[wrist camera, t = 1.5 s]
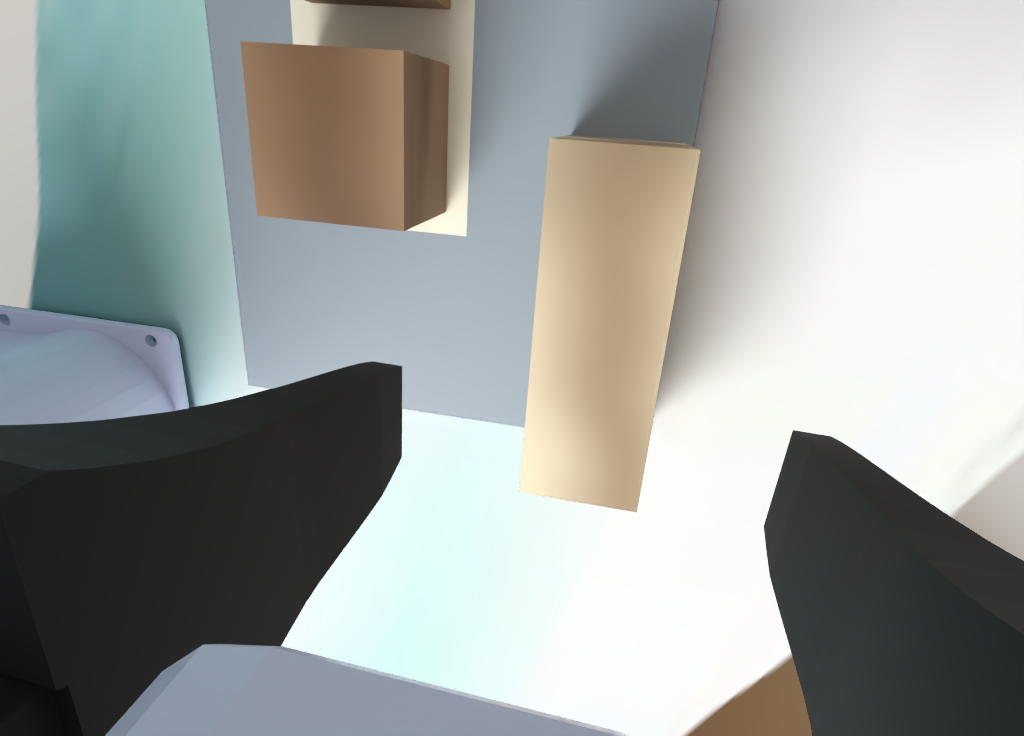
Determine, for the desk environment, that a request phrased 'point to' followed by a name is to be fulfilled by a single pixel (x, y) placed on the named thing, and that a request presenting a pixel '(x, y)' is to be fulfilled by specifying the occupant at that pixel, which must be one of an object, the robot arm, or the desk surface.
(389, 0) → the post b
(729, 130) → the desk surface
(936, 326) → the desk surface
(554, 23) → the board
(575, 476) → the tan rectangular block
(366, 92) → the brown wooden cube
